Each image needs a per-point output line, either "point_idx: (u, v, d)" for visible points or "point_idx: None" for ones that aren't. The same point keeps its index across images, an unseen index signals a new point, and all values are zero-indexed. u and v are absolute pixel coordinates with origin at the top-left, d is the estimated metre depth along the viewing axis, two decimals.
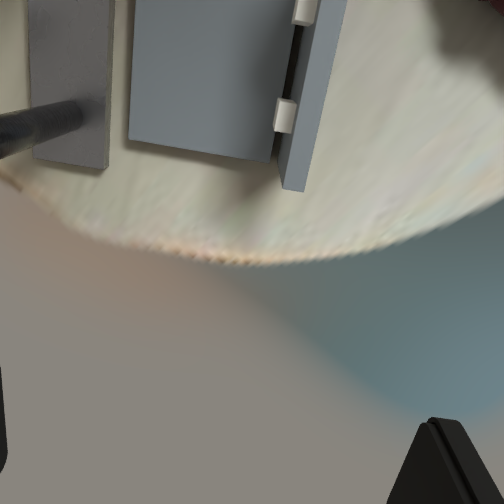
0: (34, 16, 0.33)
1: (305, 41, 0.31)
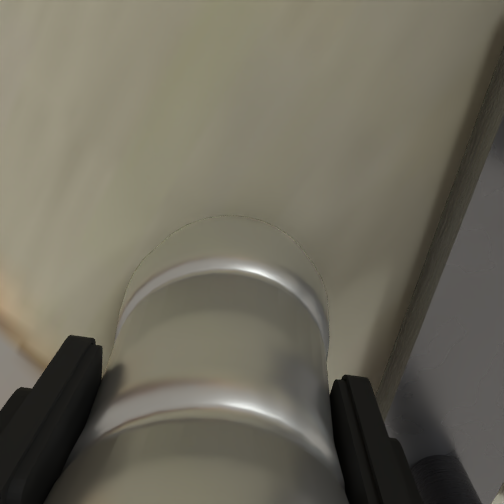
0: (431, 333, 0.16)
1: None
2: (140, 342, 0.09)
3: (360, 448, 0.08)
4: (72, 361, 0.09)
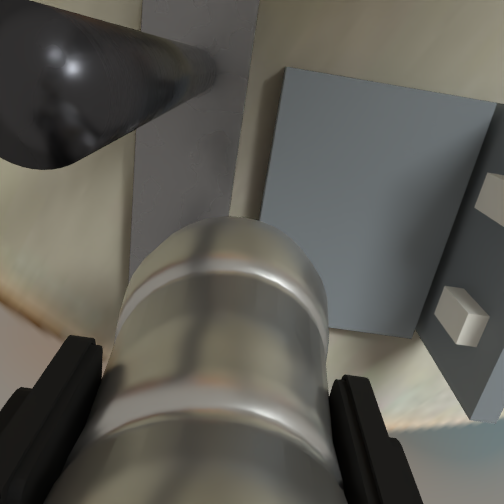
0: (140, 188, 0.27)
1: (490, 228, 0.24)
2: (139, 343, 0.09)
3: (360, 448, 0.08)
4: (72, 361, 0.09)
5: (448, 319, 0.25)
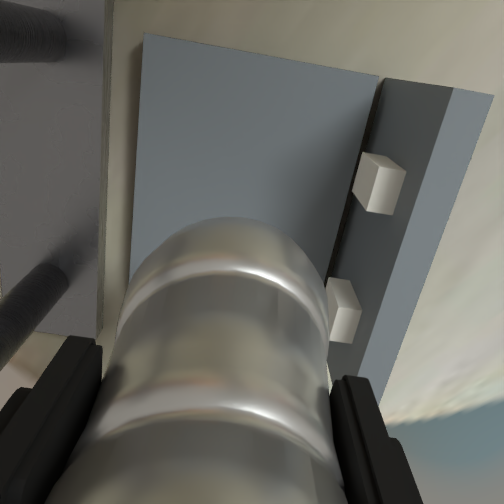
0: (0, 167, 0.24)
1: (370, 214, 0.22)
2: (140, 343, 0.09)
3: (360, 448, 0.08)
4: (72, 361, 0.09)
5: None
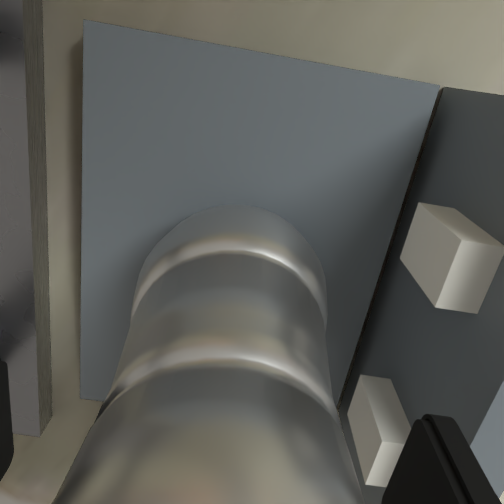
0: None
1: None
2: (159, 313, 0.10)
3: None
4: None
5: (360, 434, 0.16)
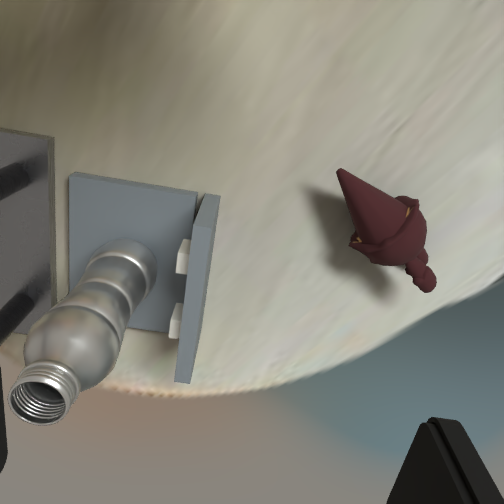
0: None
1: None
2: (87, 272, 0.37)
3: None
4: None
5: None
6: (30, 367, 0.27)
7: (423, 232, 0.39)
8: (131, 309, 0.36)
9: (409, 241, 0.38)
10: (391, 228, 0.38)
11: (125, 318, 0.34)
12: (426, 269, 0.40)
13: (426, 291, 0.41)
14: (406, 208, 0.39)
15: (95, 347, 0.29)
